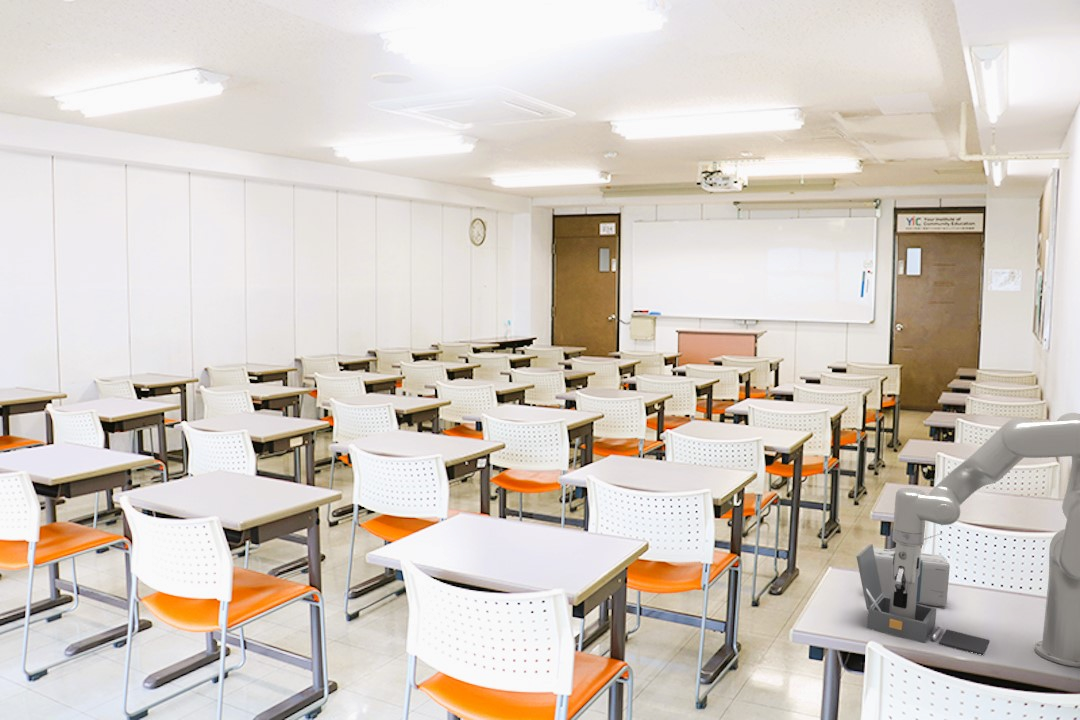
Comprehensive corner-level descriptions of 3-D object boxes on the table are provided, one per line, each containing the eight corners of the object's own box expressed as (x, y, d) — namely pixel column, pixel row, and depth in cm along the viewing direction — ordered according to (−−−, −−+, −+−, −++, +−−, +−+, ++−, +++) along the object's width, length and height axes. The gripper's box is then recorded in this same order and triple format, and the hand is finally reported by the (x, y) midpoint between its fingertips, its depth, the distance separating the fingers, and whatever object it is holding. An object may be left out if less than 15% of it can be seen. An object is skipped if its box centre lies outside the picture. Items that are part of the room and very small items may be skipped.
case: (935, 626, 224) (940, 558, 222) (924, 643, 212) (929, 571, 211) (864, 609, 234) (869, 543, 232) (850, 624, 223) (855, 556, 221)
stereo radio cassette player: (866, 599, 242) (871, 531, 240) (864, 589, 249) (869, 523, 247) (946, 610, 236) (952, 540, 234) (941, 599, 243) (947, 531, 241)
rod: (942, 631, 221) (942, 626, 221) (935, 642, 214) (936, 637, 214) (937, 629, 221) (937, 625, 221) (930, 640, 214) (930, 636, 214)
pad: (989, 642, 215) (989, 639, 215) (983, 655, 207) (983, 653, 207) (946, 631, 221) (946, 629, 220) (938, 644, 212) (938, 642, 212)
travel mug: (887, 629, 221) (892, 555, 219) (889, 620, 227) (894, 547, 225) (913, 634, 218) (918, 559, 216) (915, 625, 224) (920, 552, 222)
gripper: (916, 547, 211) (910, 617, 213) (930, 531, 225) (925, 597, 227) (884, 541, 215) (879, 609, 217) (900, 526, 229) (895, 590, 231)
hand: (902, 602), depth 222 cm, fingers closed on travel mug, 6 cm apart
